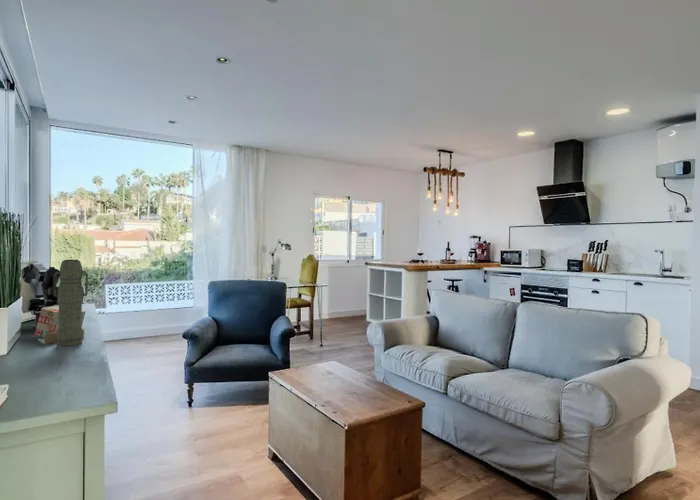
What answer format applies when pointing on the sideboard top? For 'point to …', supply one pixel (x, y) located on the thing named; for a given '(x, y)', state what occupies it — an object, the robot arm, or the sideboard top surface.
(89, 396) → the sideboard top surface
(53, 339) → the dock pad
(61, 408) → the sideboard top surface
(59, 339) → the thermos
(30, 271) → the robot arm
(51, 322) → the stack of blocks
